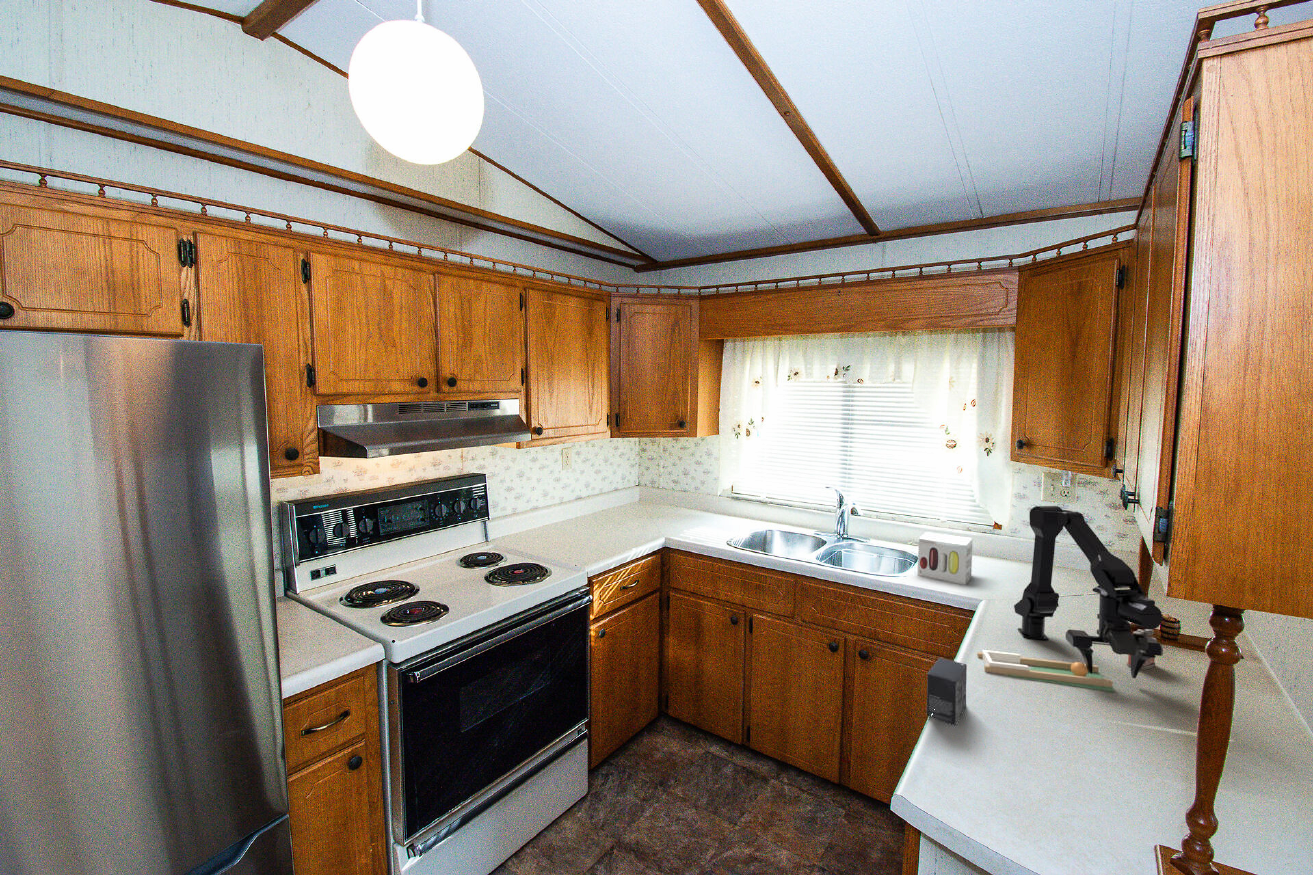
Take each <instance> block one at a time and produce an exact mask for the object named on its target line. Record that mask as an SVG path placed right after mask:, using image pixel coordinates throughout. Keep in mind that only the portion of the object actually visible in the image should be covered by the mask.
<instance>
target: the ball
mask: <svg viewBox="0 0 1313 875" xmlns="http://www.w3.org/2000/svg"><path fill="white" fill-rule="evenodd" d="M1072 663H1073V664H1072V665H1071V672H1072V673H1073V674H1074V675H1075V676H1084V677H1085V676H1086V675H1087V673H1088V669H1087V667H1086V666H1085V665H1084V664H1085V663H1082V662H1080V661H1075V662H1072Z"/></svg>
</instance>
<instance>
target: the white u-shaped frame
mask: <svg viewBox="0 0 1313 875" xmlns="http://www.w3.org/2000/svg"><path fill="white" fill-rule="evenodd" d="M981 653H982V658H981V659H982V660H983V663H984V665H989V666H992V667H1000V668H1009V669H1017V670H1026V671H1029V668H1030V666H1028V664H1021V663H1020V657H1021V654H1020V653H1014V652H1013V653H1012V652H1006V651H1004V652H1003V651H997V650H996V651H995V650H988V649H982V650H981Z"/></svg>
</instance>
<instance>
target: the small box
mask: <svg viewBox="0 0 1313 875" xmlns="http://www.w3.org/2000/svg"><path fill="white" fill-rule="evenodd" d="M967 667H968V664H967V663H963V662H958V661H953V660H950V659H945V658H942V657H938V659H937V660H935V663H934V664H933V665H932V667H931V668H930V669H929V671H928V672H927V676H926V682H927V684H926V686H927V687H926V716H928V717H930V718H932V719H936V720H938V721H941V722H944V723H947V724H949V723H951V724H950V725H952V724H954V725H953V726H955V725H956V726H957V724H958V723H959V721H960V719H961V717H962V715H963V714H962V712H963V710H964V709H966V708H967V674H968V673H967V671H968V670H967ZM965 707H966V708H965ZM934 709H935V710H934ZM964 711H965V710H964ZM932 713H933V715H932V717H931V714H932ZM963 713H964V712H963ZM961 714H962V715H961ZM960 716H961V717H960ZM959 718H960V719H959ZM958 720H959V721H958ZM957 722H958V723H957ZM956 723H957V724H956Z"/></svg>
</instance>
